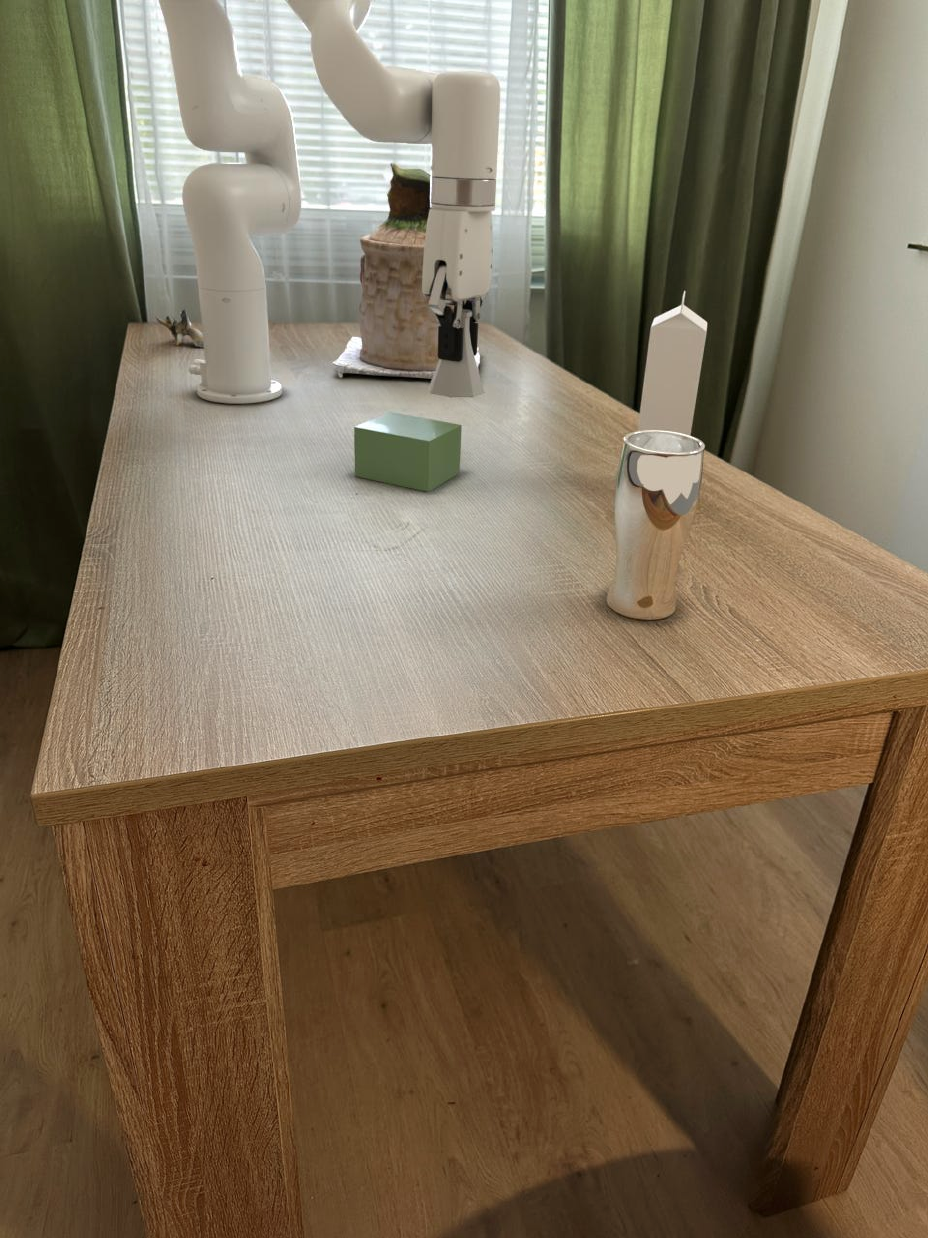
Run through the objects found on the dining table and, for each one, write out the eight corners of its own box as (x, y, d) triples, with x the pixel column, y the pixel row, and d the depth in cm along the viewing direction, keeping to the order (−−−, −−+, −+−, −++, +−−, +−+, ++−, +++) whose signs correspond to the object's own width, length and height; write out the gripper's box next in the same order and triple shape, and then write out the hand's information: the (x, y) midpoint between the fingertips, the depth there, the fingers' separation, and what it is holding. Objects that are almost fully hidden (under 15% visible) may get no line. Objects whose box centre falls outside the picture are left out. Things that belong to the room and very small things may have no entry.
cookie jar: (479, 385, 152) (490, 169, 137) (330, 378, 152) (324, 161, 137) (480, 353, 173) (489, 164, 158) (350, 347, 173) (346, 157, 158)
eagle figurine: (149, 337, 168) (181, 335, 164) (159, 301, 169) (191, 297, 164) (182, 355, 175) (214, 353, 170) (191, 320, 176) (223, 317, 171)
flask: (479, 402, 113) (483, 317, 108) (421, 396, 114) (423, 313, 110) (489, 388, 119) (493, 308, 115) (435, 383, 121) (437, 304, 116)
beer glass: (594, 587, 85) (612, 428, 78) (667, 587, 86) (692, 429, 79) (611, 623, 79) (632, 453, 72) (690, 622, 79) (719, 454, 72)
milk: (629, 491, 109) (653, 296, 98) (633, 475, 114) (656, 288, 104) (681, 497, 108) (711, 300, 97) (683, 480, 113) (712, 291, 102)
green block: (354, 476, 109) (353, 426, 107) (389, 458, 116) (389, 411, 113) (428, 492, 106) (429, 441, 103) (460, 473, 112) (461, 424, 109)
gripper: (466, 191, 114) (460, 342, 123) (398, 195, 101) (397, 365, 110) (521, 195, 111) (511, 350, 120) (459, 200, 98) (453, 373, 107)
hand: (457, 355), depth 115 cm, fingers closed on flask, 3 cm apart
